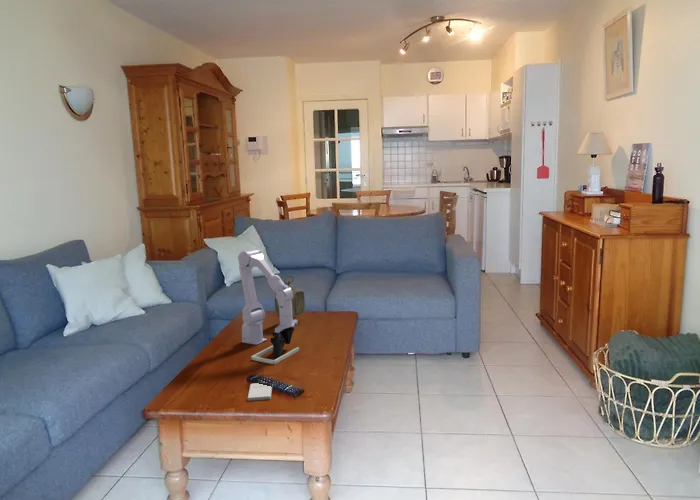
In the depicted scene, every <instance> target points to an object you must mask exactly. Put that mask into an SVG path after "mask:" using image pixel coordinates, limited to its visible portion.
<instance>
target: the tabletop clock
mask: <svg viewBox="0 0 700 500" xmlns="http://www.w3.org/2000/svg"><path fill="white" fill-rule="evenodd" d="M288 278H291V279H292V280H291V281H289V280H288V281H287V282H286V280H287V279H288ZM293 282H294V276H292V275H288V276H286V277H284V281H283V283H284V284H285V285H286V286H288V287H291V288H292V290H293V292H294V297H293V298H292V318H293V320H294V319H295V320H296V318H297V317H298V316H300V315H301V314H303V313H304V312H305V309H306V308H305V307H306V301H305V293H304V291H303V290H302V289H301V288H296V287H294V285H293V284H292V283H293ZM274 293H275V292H274ZM275 295H276V293H275V294H274V309H275V315H276V316H277V317H280V314H279V305H278V301H277V299H276V296H275ZM279 324H280V321H279Z"/></svg>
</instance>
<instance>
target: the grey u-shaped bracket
mask: <svg viewBox="0 0 700 500" xmlns="http://www.w3.org/2000/svg"><path fill="white" fill-rule="evenodd" d="M271 351H273V344H272V345H270V346H268V347H267V348H264V349H263V350H261V351H259V352H257V353H255V354H253V355H251V356H250V359H251V360H252V361H256V362H262V363H267V364H270V365H277V364H278V363H280V362H282V361H283V360H285V359H287V358H289V357H291V356H292V355H294V354H296V353H297V352H300V347H298V346H297V347H295V348H293V349H292V350H289V351H288V352H287V353H284V354H283V355H282V354H281V357H279V358H277V359H269V358H264V357H261V356H263V355H265V354H268V353H269V352H271Z"/></svg>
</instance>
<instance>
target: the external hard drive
mask: <svg viewBox="0 0 700 500" xmlns="http://www.w3.org/2000/svg"><path fill="white" fill-rule="evenodd" d="M259 383H260V382H257V383H250V385H249V390H248V394H247V401H261V400H262V401H263V400H271V399H272V391H273V386H272V387H271V386H267V385H263V384H259Z"/></svg>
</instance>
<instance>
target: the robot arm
mask: <svg viewBox="0 0 700 500" xmlns="http://www.w3.org/2000/svg"><path fill="white" fill-rule="evenodd" d="M237 259H238V268H239V273H240V275H239V276H240V279H241V284H242V290H243V295H244V301H245V306H244V307H243V308H242V321H243V323H242V326H241V339H242V340H241V341H240V342H241V343H244V344H249V345H255V346H256V345H259V344H262V343H263V342H265V341H267V340H268V339H267V338H264V335H263V323H264V320H265V318H266V312H265V310H264V308H263V305H262V304H261V303H260V302H258V298H257V292H256V287H255V280H254V275H253V271H252V270H253V268H257V269H258V270H259V271H260V272H261V273H262V274H263V275H264V276H265V278H266V279H267V284H268V285H269V287H270V288H271V289H272V291H273V292H274V293H276V295H275V294H274V297H275V296H276V299H277V301H278V305H279V314H280V316H279V322H280V323H279V324H278V325H277V326H276V327H275V328H274V332H275V333H280V332H281V333H282V337H283V340H284V339H285V340H286V343H285V342H284V345H289V344H291V341H292V337H293V334H294V330H295V327H296V325H298V324H299V322H298V320H299V319H296V318H295V319H294V320H293V317H292V298H293V297H294V292H293V290H292V288H291V287H288V286H286V285H287V284H285V283H284V281H283V280H282V279H281V277H280V275H277V274H274V272H273V271H272V270H271V268H270V266H269V264H268V262H266V260H265V255H264V253H263V252H262V250H260V249H259V248H254V249H249V250H246V251H243V250H242V251H241V252H239V254H238V256H237Z"/></svg>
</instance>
